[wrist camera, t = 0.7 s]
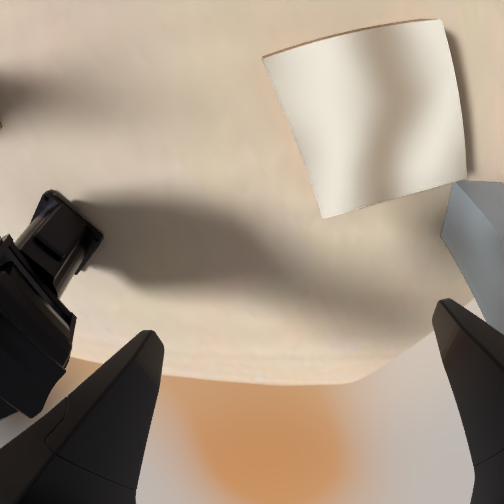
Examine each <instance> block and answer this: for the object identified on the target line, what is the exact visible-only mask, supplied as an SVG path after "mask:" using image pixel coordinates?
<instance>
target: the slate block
mask: <svg viewBox="0 0 504 504" xmlns="http://www.w3.org/2000/svg"><path fill="white" fill-rule="evenodd" d="M440 236H441V238H442V239H443V241H444V243H445V244H446V246H447V248H448V249H449V251H450V253H451V254H452V256H453V258H454V260H455V261H456V263H457V265H458V267H459V269H460V270H461V272H462V274H463V276H464V278H465V280H466V282H467V283H468V285H469V287H470V289H471V291H472V293H473V295H474V297H475V299H476V301H477V303H478V305H479V307H480V309H481V312H482V314H483V316H484V318H485V320H486V322H487V323H488V324H489V325H491V326H492V327H493V328H495V329H496V330H498V331H499V332H501V333H502V334H503V335H504V185H503V184H502V183H500V182H483V181H461V180H460V181H456V182H453V186H452V190H451V195H450V200H449V204H448V208H447V212H446V216H445V220H444V224H443V228H442V232H441V235H440Z"/></svg>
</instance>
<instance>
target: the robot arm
mask: <svg viewBox="0 0 504 504" xmlns="http://www.w3.org/2000/svg"><path fill="white" fill-rule="evenodd" d="M47 196H48V197H47ZM97 237H98V238H97ZM102 240H103V235H102V234H101V233H100V232H99V231H98V230H97V229H95V228H94V227H93V226H92V225H90V224H89V223H88V222H87V221H85V220H84V219H83V218H82V217H80V216H79V215H78V214H77V213H75V212H74V211H73V210H72V209H71V208H69V207H68V206H67V205H66V204H65V203H63V202H62V201H61V200H60V199H59V198H57V197H56V196H55V195H54V194H53V193H52V192H50V191H46V192H45V193H44V194H43V195H42V197H41V200H40V202H39V204H38V206H37V208H36V211H35V213H34V215H33V218H32V220H31V223H30V225H29V226H28V227H27V229H26V230H25V231H24V232H23V233H22V234H21V236H20V237H19V238H18V239H17V240H16V242H15V243H14V242H13V239H12V237H11V236H10V234H8V235H6V236H4V237H3V238H1V237H0V421H1V420H3V419H5V418H7V417H10V416H12V415H14V414H17V413H19V412H21V413H22V414H24V415H25V416H27V417H28V418H33V417H35V416H36V415H37V414H39V413H40V412H41V411H42V409H43V406H44V404H45V402H46V400H47V397H48V395H49V394H50V392H51V390H52V388H53V387H54V385H55V384H56V383H57V381H58V380H59V379H60V378H61V377H62V376H63V375H64V374H65V373H66V370H65V368H66V366H67V364H68V362H69V358H70V353H71V350H72V341H73V335H74V329H75V324H76V319H77V317H76V316H75V315H74V314H73V313H72V312H70V311H69V310H68V309H67V308H66V307H65V305H64V304H63V303H62V302H61V301H60V300H59V299H60V298H61V296H62V294H63V292H64V290H65V289H66V287H67V285H68V284H69V282H70V280H71V278H72V277H73V275H74V274H75V275H77V274H78V273H79V271H80V270H81V269H82V267H83V266H84V265H85V263H86V262H87V261H88V259H89V258H90V256H91V255H92V254H93V252H94V251H95V250H96V249H97V247H98V246H99V245H100V243H101V242H102ZM432 323H433V327H434V331H435V335H436V339H437V342H438V346H439V350H440V354H441V358H442V362H443V365H444V368H445V371H446V373H447V376H448V379H449V382H450V385H451V388H452V391H453V394H454V397H455V400H456V403H457V406H458V410H459V413H460V416H461V420H462V423H463V427H464V430H465V434H466V438H467V442H468V445H469V450H470V453H471V458H472V462H473V466H474V472H475V482H474V488H473V494H472V498H471V502H470V504H504V335H503V334H502V333H501V332H499V331H498V330H496V329H495V328H493V327H492V326H491V325H489V324H488V323H486V322H485V321H483V320H482V319H480V318H479V317H477V316H476V315H474V314H473V313H471V312H470V311H469V310H467V309H465V308H464V307H463V306H461V305H460V304H458V303H456V302H455V301H453V300H452V299H450V298H447V299H442V300H439V301H438V303H437V306H436V308H435V311H434V314H433V318H432ZM163 358H164V345H163V343H162V342H161V340H160V339H159V337H158V336H157V334H156V333H155V331H153V330H143V331H141V332H140V333H139V334H137V335H136V336H135V337H134V338H133V339H132V340H131V341H129V342H128V343H127V344H126V345H125V346H124V347H122V348H121V349H120V350H119V351H118V352H117V353H116V354H114V355H113V356H112V357H111V358H110V359H109V360H108V361H107V362H105V363H104V364H103V365H102V366H101V367H100V368H99V369H98V370H96V371H95V372H94V373H93V374H92V375H91V376H90V377H88V378H87V379H86V380H85V381H84V382H83V383H82V384H80V385H79V386H78V387H77V388H76V389H75V390H74V391H73V392H71V393H70V394H69V395H68V397H65V398H64V399H63V400H62V401H61V402H60V403H58V404H57V405H56V406H55V407H54V408H53V409H52V410H50V411H49V412H48V413H47V414H46V415H44V416H43V417H42V418H40V419H39V420H38V421H36V422H35V423H34V424H32V425H31V426H30V427H28V428H27V429H26V430H24V431H23V432H22V433H20V434H19V435H18V436H17V437H15V438H14V439H12V440H11V441H10V442H9V443H7V444H6V445H4V446H3V447H2V448H0V504H136V500H135V496H136V489H137V485H138V479H139V475H140V470H141V465H142V460H143V456H144V451H145V447H146V442H147V438H148V433H149V429H150V425H151V421H152V416H153V412H154V408H155V404H156V400H157V396H158V392H159V387H160V380H161V373H162V365H163Z"/></svg>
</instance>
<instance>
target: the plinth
mask: <svg viewBox="0 0 504 504" xmlns="http://www.w3.org/2000/svg"><path fill="white" fill-rule="evenodd" d="M262 61H263V64H264V66H265V68H266V70H267V73H268V75H269V77H270V80H271V82H272V84H273V87H274V89H275V91H276V94H277V96H278V98H279V101H280V103H281V106H282V108H283V111H284V113H285V116H286V118H287V121H288V123H289V126H290V128H291V131H292V133H293V136H294V139H295V141H296V144H297V146H298V149H299V152H300V154H301V157H302V160H303V163H304V165H305V168H306V171H307V174H308V176H309V179H310V182H311V185H312V188H313V191H314V194H315V196H316V199H317V202H318V205H319V208H320V211H321V214H322V217H323V219H325V218H329V217H332V216H335V215H339V214H342V213H346V212H349V211H353V210H356V209H360V208H363V207H367V206H370V205H374V204H377V203H381V202H384V201H388V200H391V199H395V198H399V197H402V196H406V195H409V194H413V193H416V192H420V191H424V190H427V189H431V188H434V187H438V186H441V185H445V184H449V183H452V182H456V181H460V180H463V179H467V167H466V151H465V139H464V129H463V120H462V112H461V105H460V99H459V93H458V87H457V81H456V76H455V71H454V66H453V62H452V57H451V53H450V49H449V45H448V41H447V37H446V34H445V30H444V27H443V23H442V20H441V19H419V20H410V21H403V22H396V23H390V24H384V25H378V26H372V27H367V28H362V29H357V30H353V31H348V32H344V33H340V34H336V35H332V36H328V37H324V38H320V39H316V40H313V41H309V42H306V43H302V44H299V45H296V46H293V47H289V48H286V49H283V50H280V51H277V52H274V53H271V54H268V55H265V56H263V57H262Z"/></svg>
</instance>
